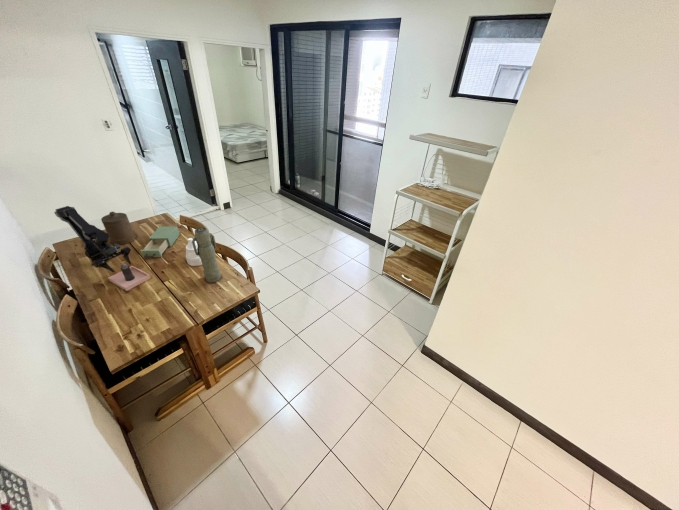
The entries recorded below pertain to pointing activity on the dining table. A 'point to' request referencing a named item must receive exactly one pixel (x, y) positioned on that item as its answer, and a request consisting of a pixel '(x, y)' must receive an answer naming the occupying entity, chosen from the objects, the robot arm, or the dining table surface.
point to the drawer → (155, 248)
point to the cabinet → (166, 234)
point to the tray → (128, 285)
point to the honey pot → (192, 254)
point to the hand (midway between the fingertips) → (122, 268)
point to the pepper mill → (127, 272)
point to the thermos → (207, 254)
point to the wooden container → (118, 228)
